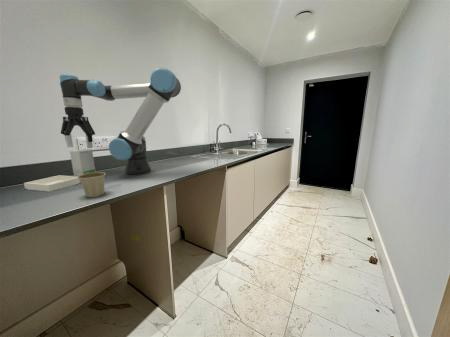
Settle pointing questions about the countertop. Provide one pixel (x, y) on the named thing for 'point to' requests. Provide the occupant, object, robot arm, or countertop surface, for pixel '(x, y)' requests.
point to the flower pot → (93, 183)
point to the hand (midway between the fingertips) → (80, 147)
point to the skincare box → (82, 162)
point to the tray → (52, 183)
